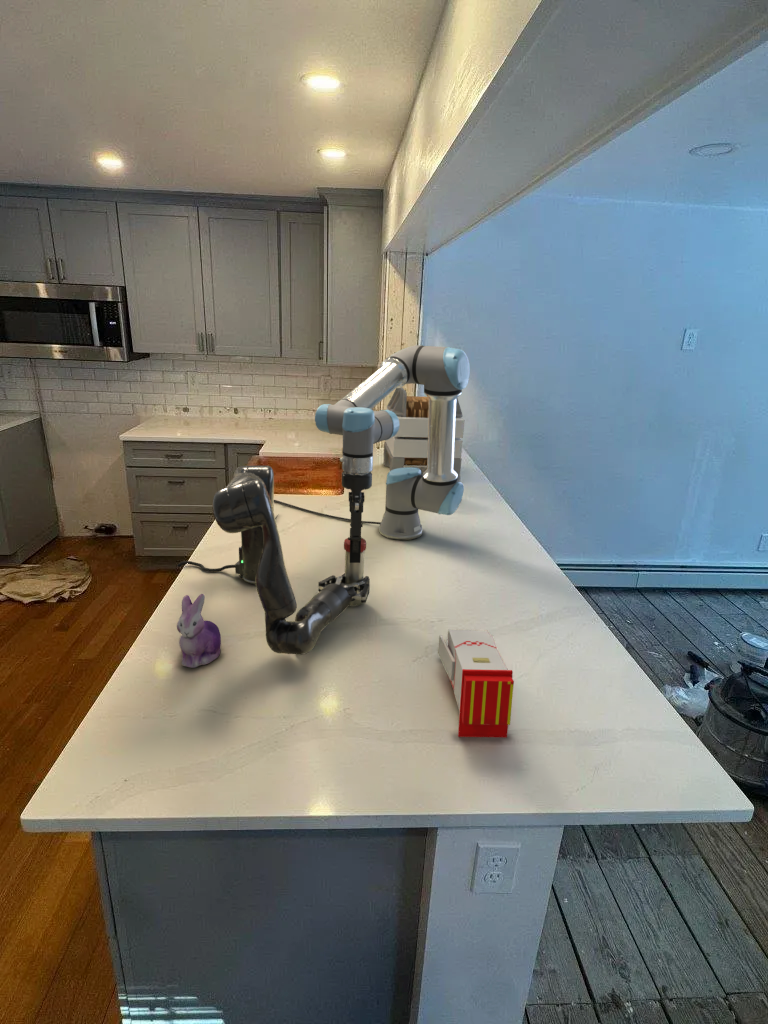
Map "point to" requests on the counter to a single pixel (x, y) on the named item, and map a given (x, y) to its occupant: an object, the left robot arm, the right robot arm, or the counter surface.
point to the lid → (347, 545)
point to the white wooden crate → (416, 433)
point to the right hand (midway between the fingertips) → (354, 556)
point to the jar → (354, 573)
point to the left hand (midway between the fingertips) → (358, 577)
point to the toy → (478, 682)
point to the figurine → (197, 634)
